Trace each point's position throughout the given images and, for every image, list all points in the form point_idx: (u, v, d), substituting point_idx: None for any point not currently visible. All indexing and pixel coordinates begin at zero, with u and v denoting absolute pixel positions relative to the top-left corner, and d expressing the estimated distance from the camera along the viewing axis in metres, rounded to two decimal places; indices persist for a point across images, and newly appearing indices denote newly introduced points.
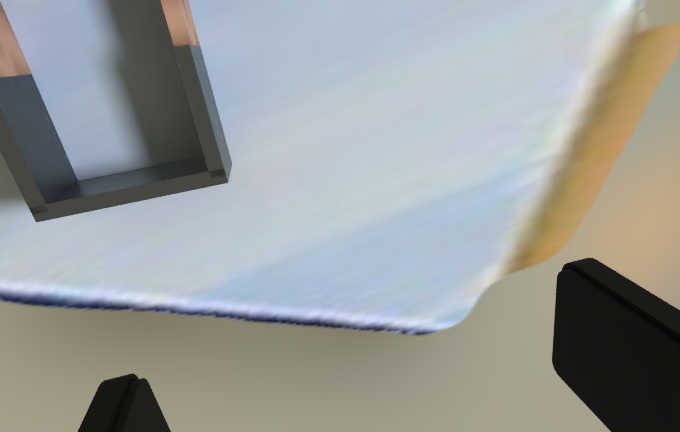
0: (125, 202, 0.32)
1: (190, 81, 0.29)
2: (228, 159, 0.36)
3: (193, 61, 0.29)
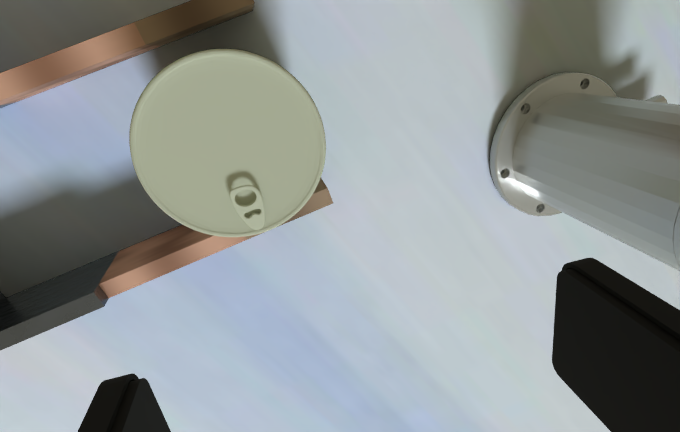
0: None
1: (63, 314, 0.26)
2: None
3: (88, 311, 0.27)
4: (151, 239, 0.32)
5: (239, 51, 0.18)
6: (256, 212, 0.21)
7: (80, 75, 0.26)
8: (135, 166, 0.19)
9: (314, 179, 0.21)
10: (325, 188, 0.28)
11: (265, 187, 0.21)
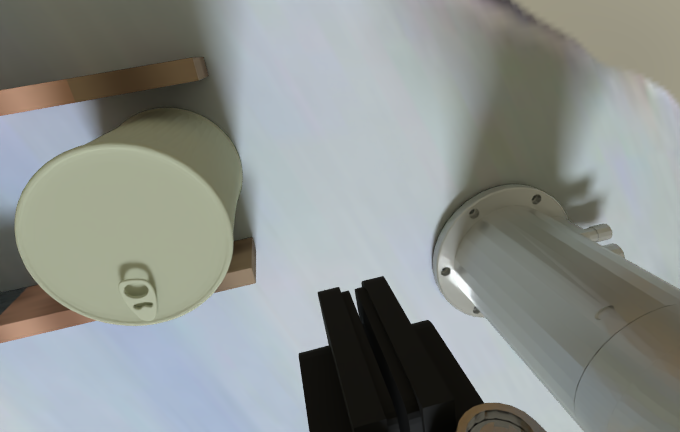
0: None
1: None
2: None
3: None
4: None
5: (149, 148, 0.17)
6: (148, 303, 0.20)
7: None
8: (17, 243, 0.18)
9: (216, 280, 0.20)
10: (249, 267, 0.27)
11: (161, 281, 0.20)
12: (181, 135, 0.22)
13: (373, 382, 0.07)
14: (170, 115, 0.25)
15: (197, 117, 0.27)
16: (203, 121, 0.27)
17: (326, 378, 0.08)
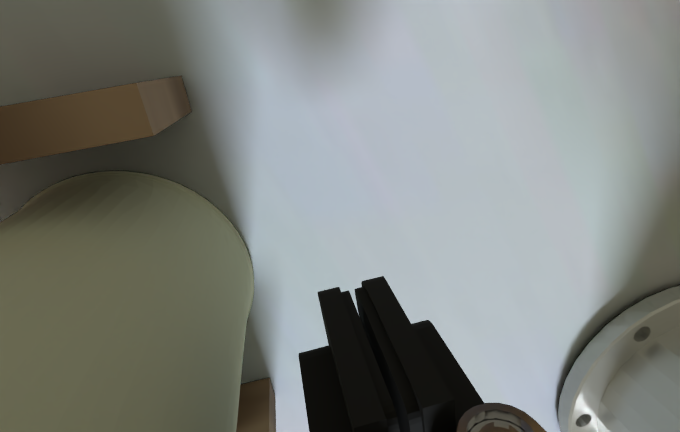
0: None
1: None
2: None
3: None
4: None
5: None
6: None
7: None
8: None
9: None
10: None
11: None
12: (103, 277, 0.09)
13: (373, 383, 0.07)
14: (109, 195, 0.12)
15: (170, 189, 0.14)
16: (181, 197, 0.14)
17: (326, 378, 0.08)
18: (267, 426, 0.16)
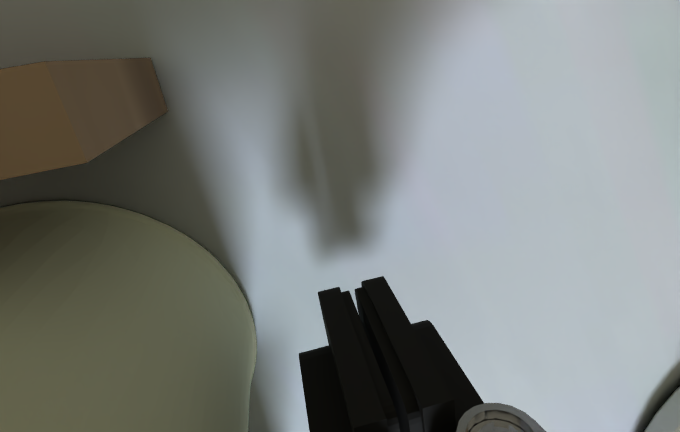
0: None
1: None
2: None
3: None
4: None
5: None
6: None
7: None
8: None
9: None
10: None
11: None
12: None
13: (373, 383, 0.07)
14: (32, 247, 0.08)
15: (133, 227, 0.10)
16: (150, 239, 0.10)
17: (327, 378, 0.08)
18: None
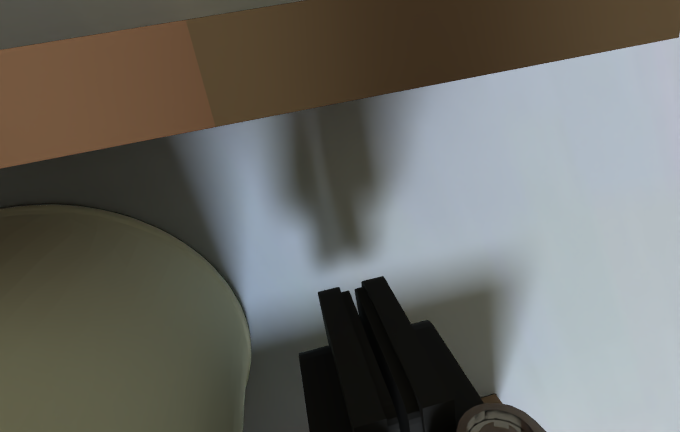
0: None
1: None
2: None
3: None
4: None
5: None
6: None
7: None
8: None
9: None
10: None
11: None
12: None
13: (373, 382, 0.07)
14: (17, 254, 0.08)
15: (124, 232, 0.10)
16: (141, 243, 0.10)
17: (326, 378, 0.08)
18: None
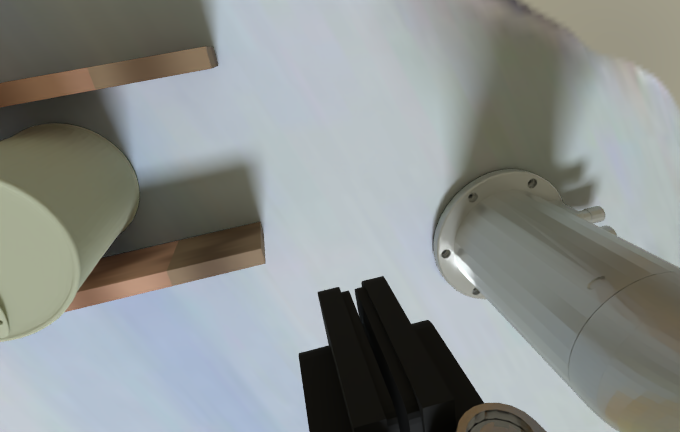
0: None
1: None
2: None
3: None
4: None
5: None
6: (0, 321, 0.20)
7: None
8: None
9: (66, 297, 0.20)
10: (259, 248, 0.29)
11: (9, 299, 0.20)
12: (40, 154, 0.22)
13: (373, 382, 0.07)
14: (49, 132, 0.26)
15: (83, 132, 0.28)
16: (89, 136, 0.28)
17: (326, 378, 0.08)
18: (259, 235, 0.31)
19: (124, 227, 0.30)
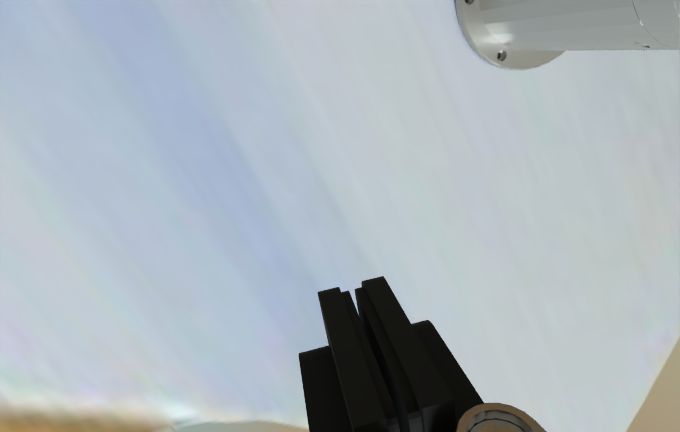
0: None
1: None
2: None
3: None
4: None
5: None
6: None
7: None
8: None
9: None
10: None
11: None
12: None
13: (373, 382, 0.07)
14: None
15: None
16: None
17: (326, 377, 0.08)
18: None
19: None
